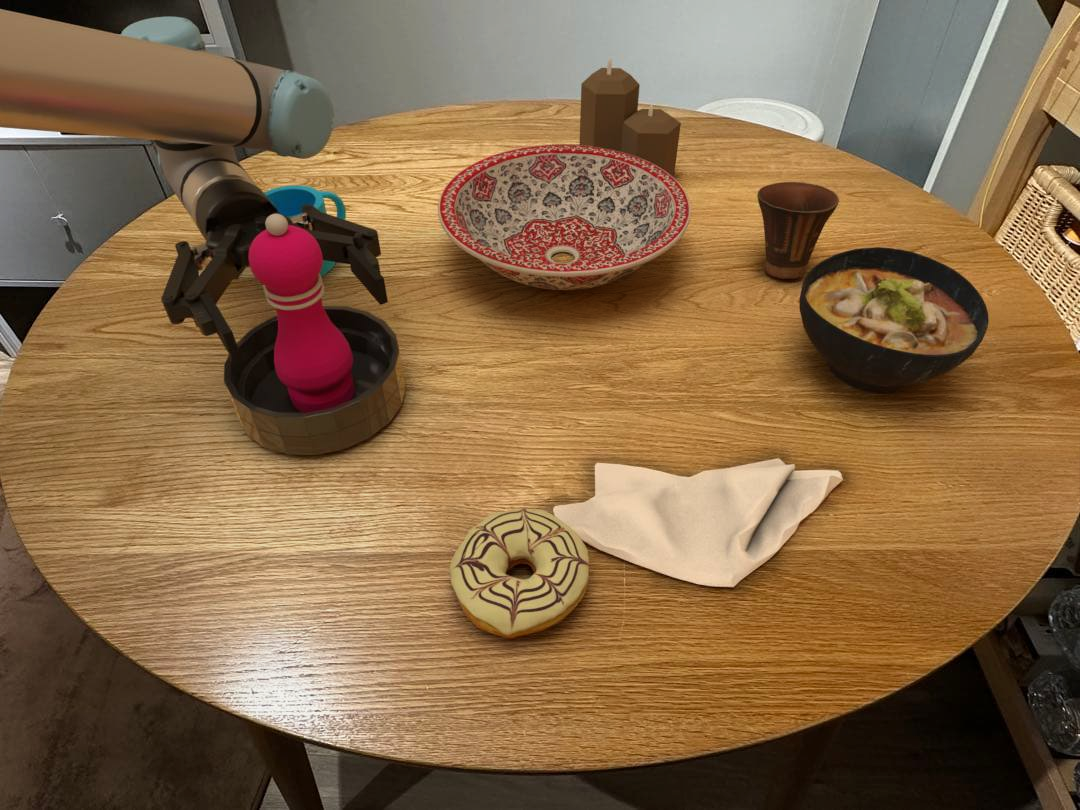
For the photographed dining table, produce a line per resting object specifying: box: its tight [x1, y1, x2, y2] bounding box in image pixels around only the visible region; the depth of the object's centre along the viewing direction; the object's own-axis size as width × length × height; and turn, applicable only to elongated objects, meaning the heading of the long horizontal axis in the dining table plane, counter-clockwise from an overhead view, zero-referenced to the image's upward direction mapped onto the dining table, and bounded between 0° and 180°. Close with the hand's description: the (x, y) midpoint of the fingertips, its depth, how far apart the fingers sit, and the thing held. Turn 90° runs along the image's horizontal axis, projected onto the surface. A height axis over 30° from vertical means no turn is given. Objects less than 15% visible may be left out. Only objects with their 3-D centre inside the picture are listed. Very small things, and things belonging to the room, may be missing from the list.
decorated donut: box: [449, 507, 590, 639], centre depth 60 cm, size 10×11×4 cm
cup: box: [756, 181, 840, 280], centre depth 90 cm, size 9×9×10 cm
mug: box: [263, 184, 347, 277], centre depth 93 cm, size 12×8×8 cm
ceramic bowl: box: [437, 144, 692, 291], centre depth 92 cm, size 29×29×8 cm
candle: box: [578, 57, 682, 178], centre depth 105 cm, size 14×14×15 cm
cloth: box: [552, 457, 844, 588], centre depth 65 cm, size 26×14×2 cm, turn 91°
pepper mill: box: [249, 214, 355, 413], centre depth 70 cm, size 7×7×20 cm
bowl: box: [798, 246, 990, 393], centre depth 77 cm, size 17×17×10 cm
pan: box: [223, 305, 407, 456], centre depth 75 cm, size 16×16×6 cm
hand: (310, 317), depth 66 cm, fingers open, 13 cm apart
